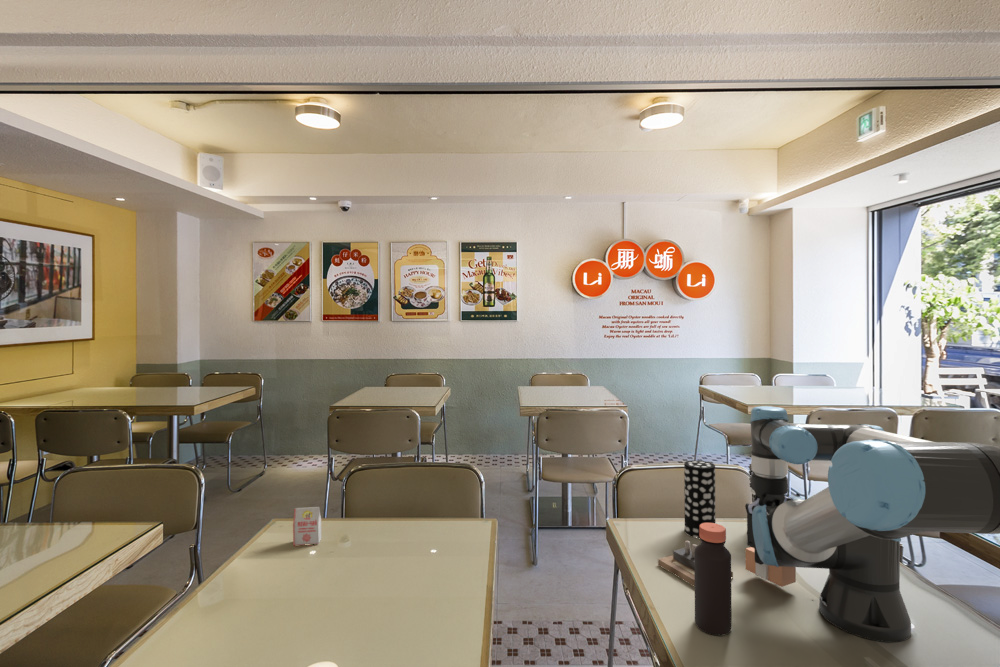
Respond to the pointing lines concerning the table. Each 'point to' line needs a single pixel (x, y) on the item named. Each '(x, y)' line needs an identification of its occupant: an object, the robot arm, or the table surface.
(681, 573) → the pin board
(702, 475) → the white-spotted black cylinder
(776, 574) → the block
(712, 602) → the bottle
